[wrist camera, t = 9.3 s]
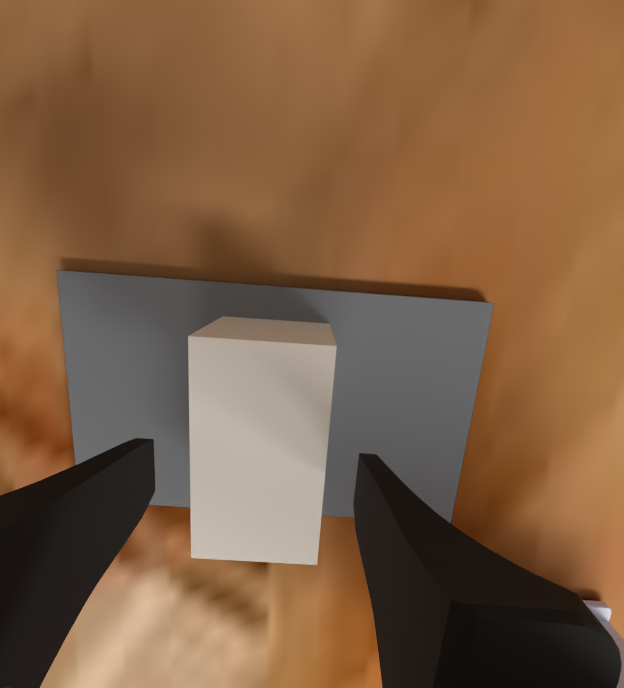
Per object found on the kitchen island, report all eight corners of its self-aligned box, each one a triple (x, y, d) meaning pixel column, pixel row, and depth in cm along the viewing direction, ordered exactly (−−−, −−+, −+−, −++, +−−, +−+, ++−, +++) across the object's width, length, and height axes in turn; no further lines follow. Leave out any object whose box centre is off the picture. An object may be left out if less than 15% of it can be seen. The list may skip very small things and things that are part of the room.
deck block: (315, 491, 18) (317, 564, 13) (221, 485, 18) (191, 558, 13) (329, 323, 16) (336, 346, 11) (222, 316, 16) (187, 335, 11)
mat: (487, 301, 16) (494, 303, 15) (446, 515, 19) (450, 523, 18) (65, 270, 16) (56, 270, 15) (86, 492, 18) (78, 500, 18)
